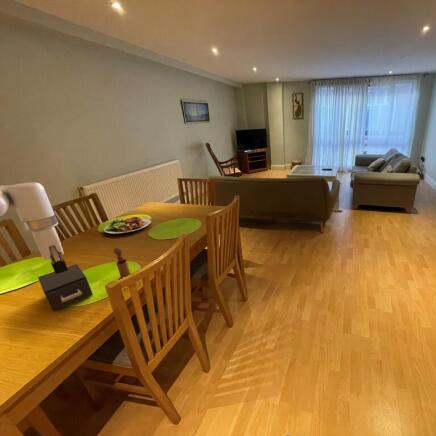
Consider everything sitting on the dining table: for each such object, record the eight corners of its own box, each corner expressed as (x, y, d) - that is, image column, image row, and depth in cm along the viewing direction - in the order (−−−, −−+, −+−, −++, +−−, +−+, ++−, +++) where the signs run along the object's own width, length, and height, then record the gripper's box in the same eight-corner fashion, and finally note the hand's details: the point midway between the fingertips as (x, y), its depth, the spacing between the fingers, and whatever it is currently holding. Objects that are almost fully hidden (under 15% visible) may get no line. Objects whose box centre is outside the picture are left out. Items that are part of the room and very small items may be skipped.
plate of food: (94, 233, 158) (91, 224, 155) (132, 218, 182) (130, 210, 180) (125, 239, 150) (123, 230, 147) (161, 222, 174) (159, 214, 172)
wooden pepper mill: (123, 288, 106) (112, 253, 99) (116, 283, 109) (104, 249, 102) (139, 280, 111) (129, 246, 104) (131, 276, 114) (121, 242, 108)
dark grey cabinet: (93, 294, 102) (85, 276, 98) (53, 311, 93) (43, 292, 89) (84, 281, 111) (76, 263, 107) (46, 295, 102) (37, 276, 98)
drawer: (94, 299, 98) (88, 284, 95) (57, 315, 90) (49, 299, 87) (83, 282, 109) (77, 267, 106) (48, 295, 100) (41, 280, 97)
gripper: (20, 220, 77) (43, 268, 84) (26, 233, 68) (51, 285, 75) (52, 213, 82) (70, 259, 89) (61, 224, 73) (81, 274, 80)
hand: (61, 271), depth 82 cm, fingers closed
